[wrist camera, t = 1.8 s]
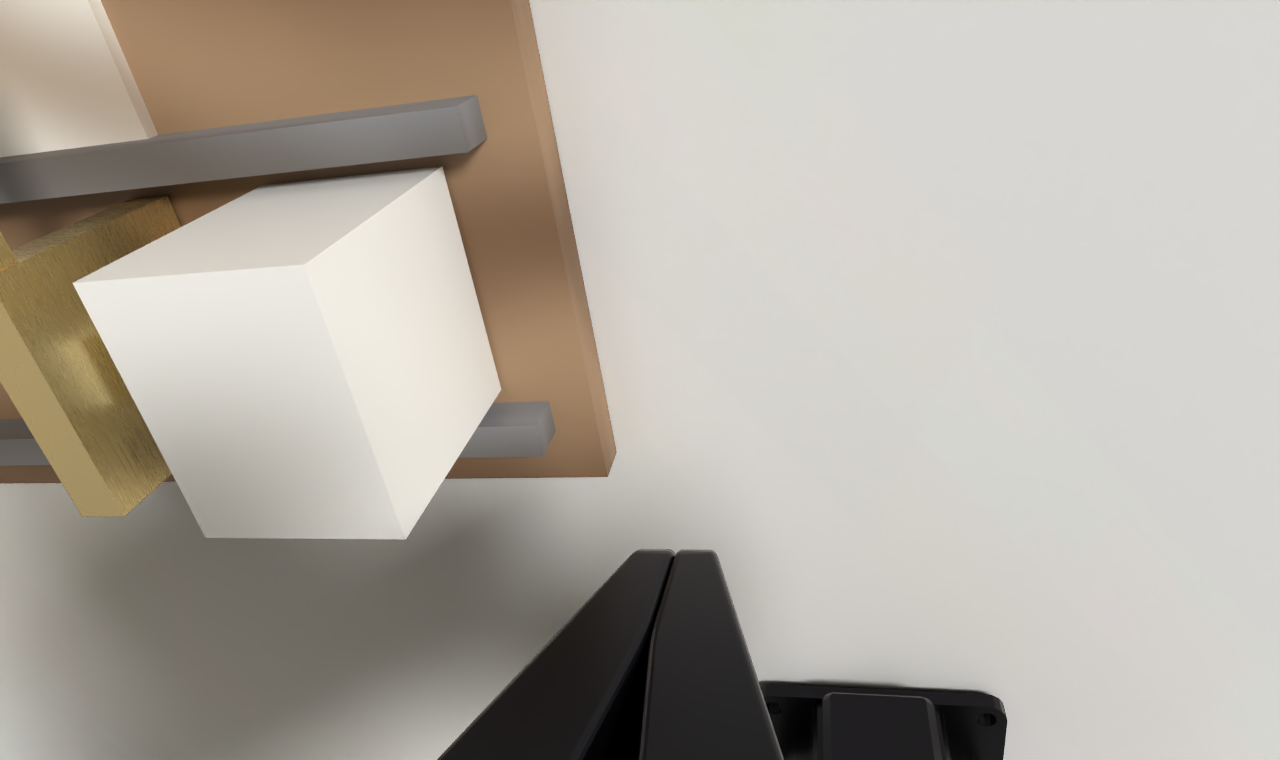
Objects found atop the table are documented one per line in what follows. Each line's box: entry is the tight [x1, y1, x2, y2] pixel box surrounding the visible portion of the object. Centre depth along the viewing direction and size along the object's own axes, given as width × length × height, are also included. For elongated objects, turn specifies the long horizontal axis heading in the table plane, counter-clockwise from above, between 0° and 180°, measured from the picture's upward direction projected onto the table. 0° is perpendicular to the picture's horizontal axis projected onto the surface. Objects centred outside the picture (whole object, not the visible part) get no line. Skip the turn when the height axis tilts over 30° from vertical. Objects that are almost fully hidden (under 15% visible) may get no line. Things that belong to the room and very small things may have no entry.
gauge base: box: [0, 0, 616, 483], centre depth 16 cm, size 14×20×7 cm
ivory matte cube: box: [73, 166, 501, 540], centre depth 15 cm, size 5×6×5 cm
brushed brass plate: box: [0, 196, 181, 516], centre depth 15 cm, size 10×1×4 cm, turn 9°
